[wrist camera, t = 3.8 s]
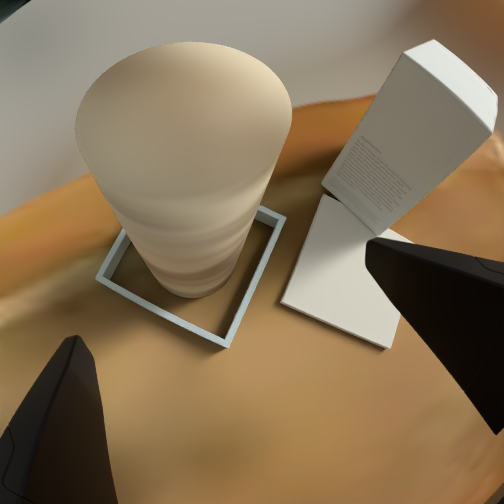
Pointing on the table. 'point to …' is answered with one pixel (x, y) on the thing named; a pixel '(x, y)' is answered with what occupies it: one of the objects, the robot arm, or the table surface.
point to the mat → (341, 277)
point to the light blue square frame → (104, 278)
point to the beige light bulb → (185, 155)
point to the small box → (412, 135)
